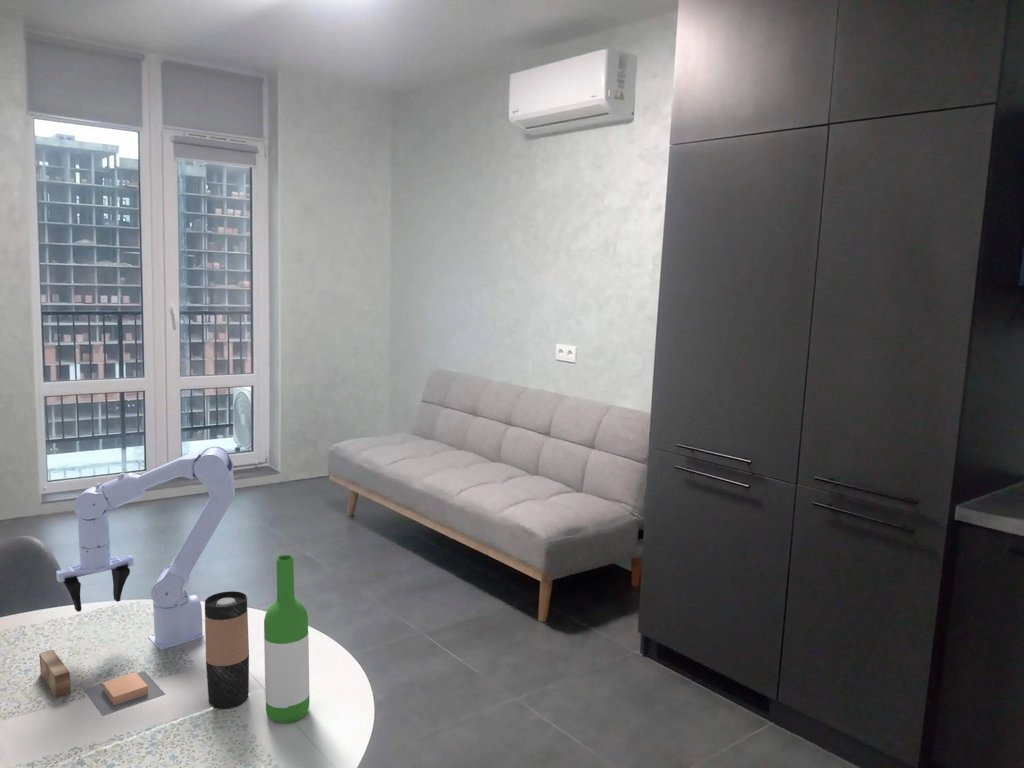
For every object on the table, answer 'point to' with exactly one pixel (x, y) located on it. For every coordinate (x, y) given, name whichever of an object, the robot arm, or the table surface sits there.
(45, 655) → the bar
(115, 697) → the block
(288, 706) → the wine bottle
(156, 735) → the table surface
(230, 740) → the table surface
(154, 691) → the mat
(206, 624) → the travel mug
